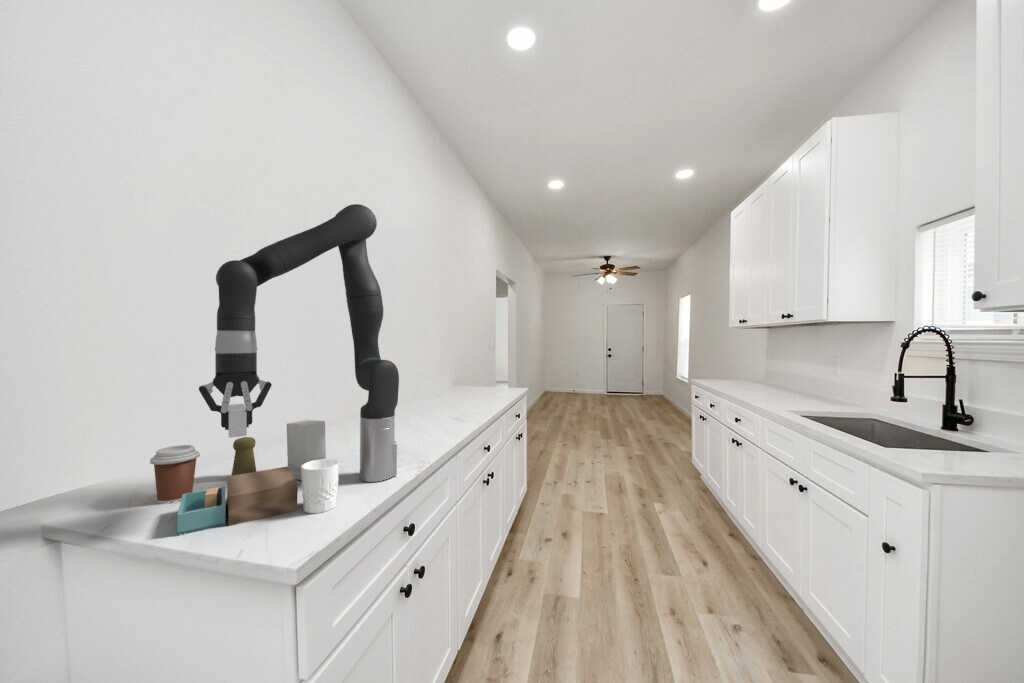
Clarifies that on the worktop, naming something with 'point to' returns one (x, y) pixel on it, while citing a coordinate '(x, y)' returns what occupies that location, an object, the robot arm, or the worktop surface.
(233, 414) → the steel bar
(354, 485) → the worktop surface
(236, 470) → the olive pepper mill
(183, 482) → the coffee cup
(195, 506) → the teal box
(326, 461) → the white cup
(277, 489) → the brown wooden box
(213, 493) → the terracotta tile
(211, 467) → the worktop surface
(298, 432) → the skincare box
